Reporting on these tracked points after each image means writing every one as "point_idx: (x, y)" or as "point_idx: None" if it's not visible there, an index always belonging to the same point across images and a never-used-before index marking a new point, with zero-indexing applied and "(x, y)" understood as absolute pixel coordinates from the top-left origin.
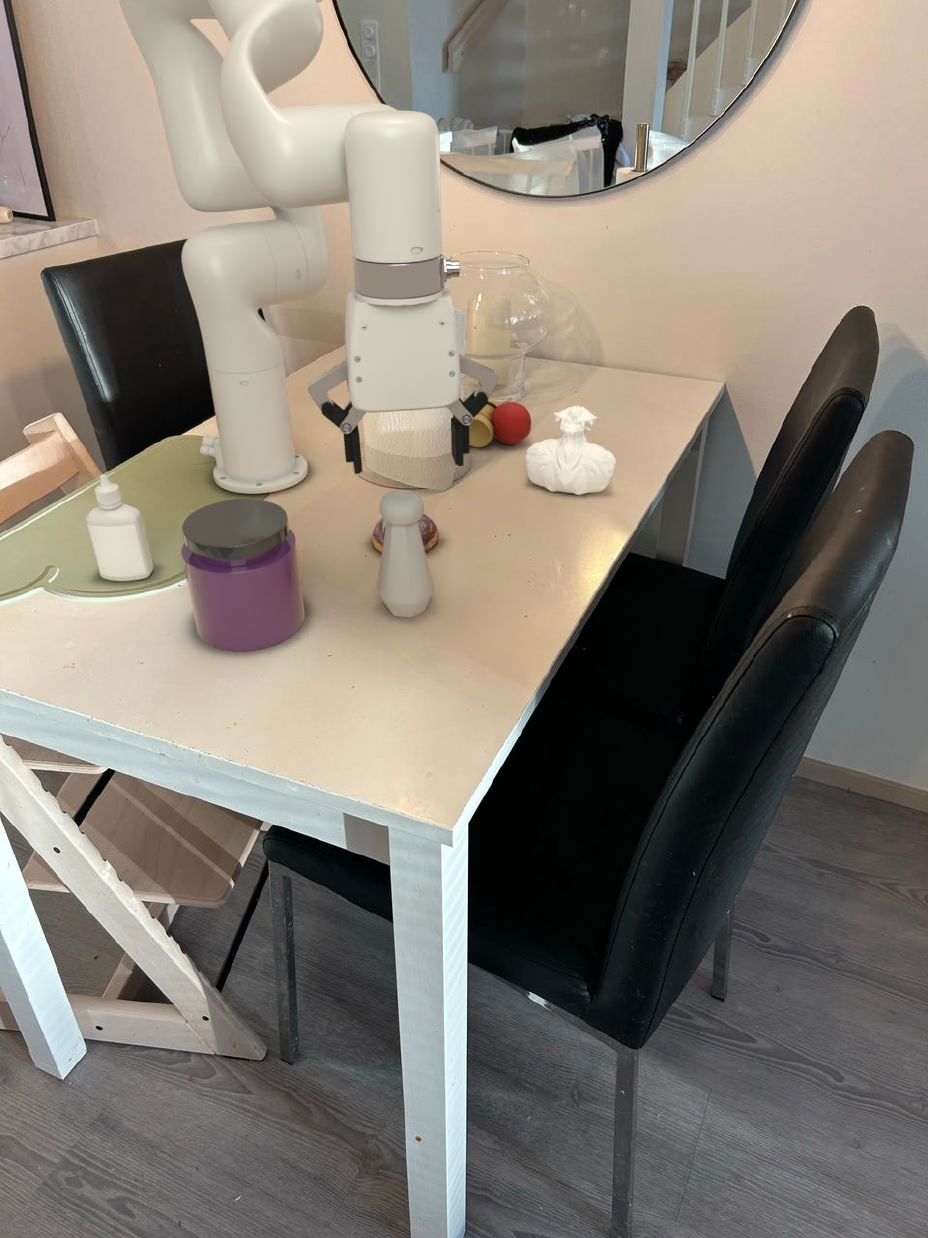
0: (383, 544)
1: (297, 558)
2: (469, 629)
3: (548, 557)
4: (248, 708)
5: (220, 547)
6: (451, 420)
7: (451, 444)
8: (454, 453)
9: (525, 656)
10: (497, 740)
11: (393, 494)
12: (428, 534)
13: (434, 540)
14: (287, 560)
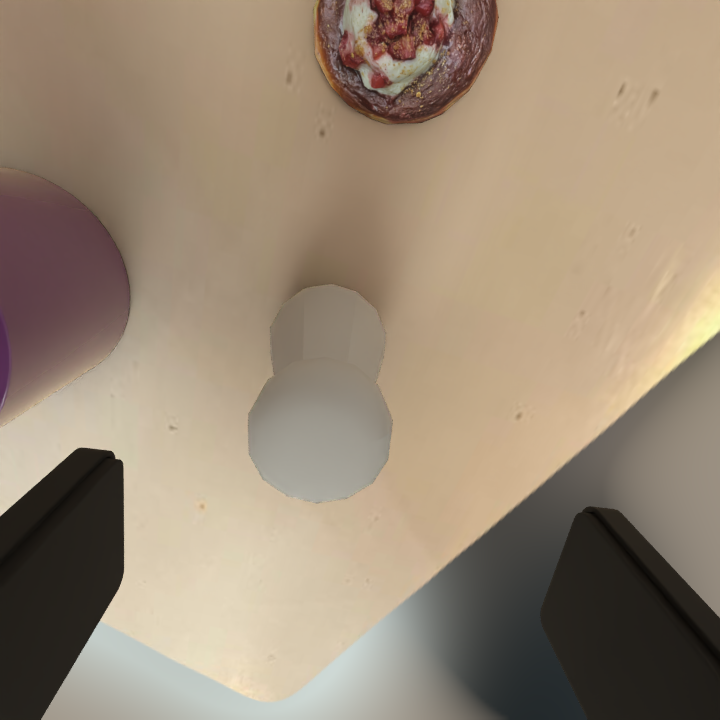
0: (273, 366)
1: (45, 345)
2: (414, 424)
3: (670, 235)
4: None
5: None
6: (710, 705)
7: (605, 541)
8: (570, 615)
9: (467, 507)
10: (363, 632)
11: (293, 439)
12: (456, 87)
13: (466, 91)
14: (4, 417)
